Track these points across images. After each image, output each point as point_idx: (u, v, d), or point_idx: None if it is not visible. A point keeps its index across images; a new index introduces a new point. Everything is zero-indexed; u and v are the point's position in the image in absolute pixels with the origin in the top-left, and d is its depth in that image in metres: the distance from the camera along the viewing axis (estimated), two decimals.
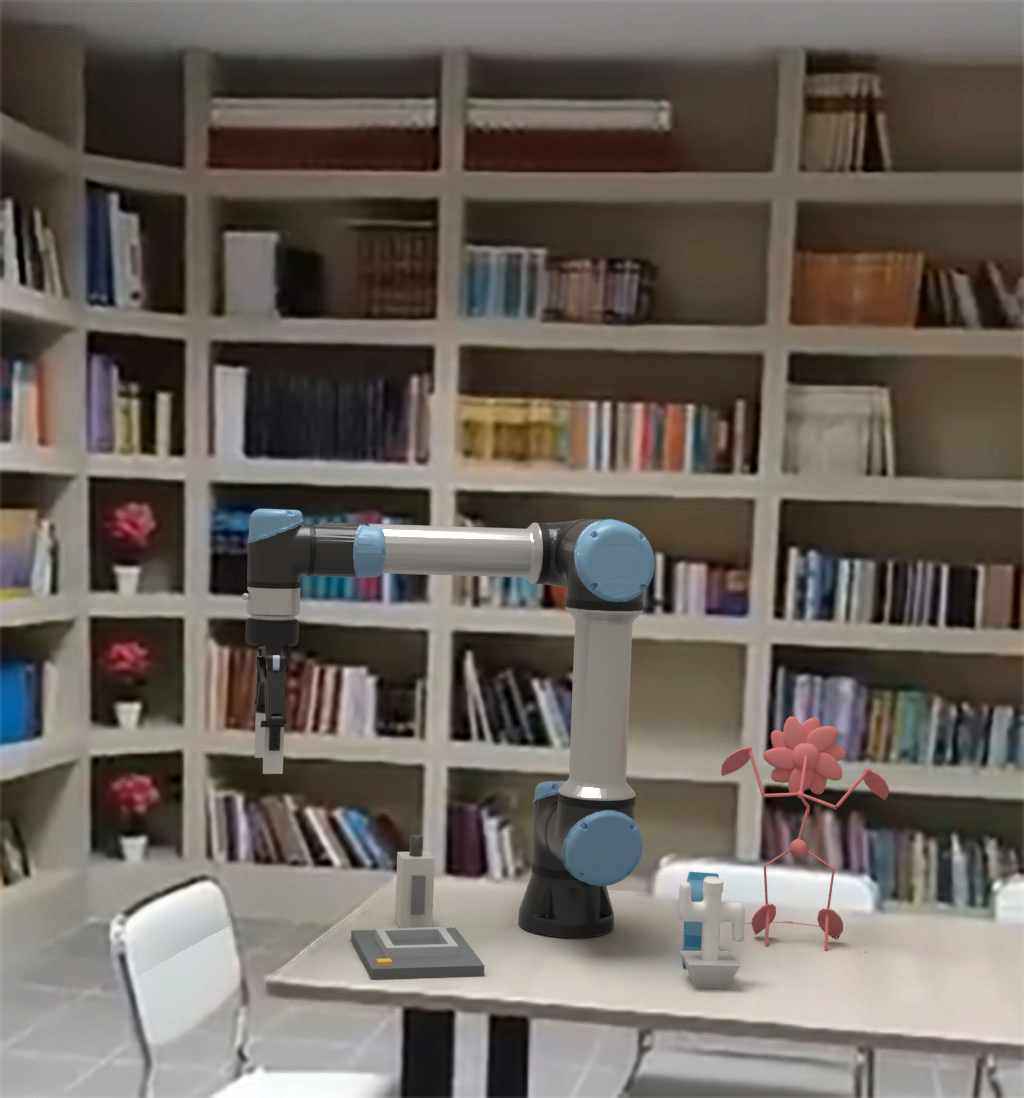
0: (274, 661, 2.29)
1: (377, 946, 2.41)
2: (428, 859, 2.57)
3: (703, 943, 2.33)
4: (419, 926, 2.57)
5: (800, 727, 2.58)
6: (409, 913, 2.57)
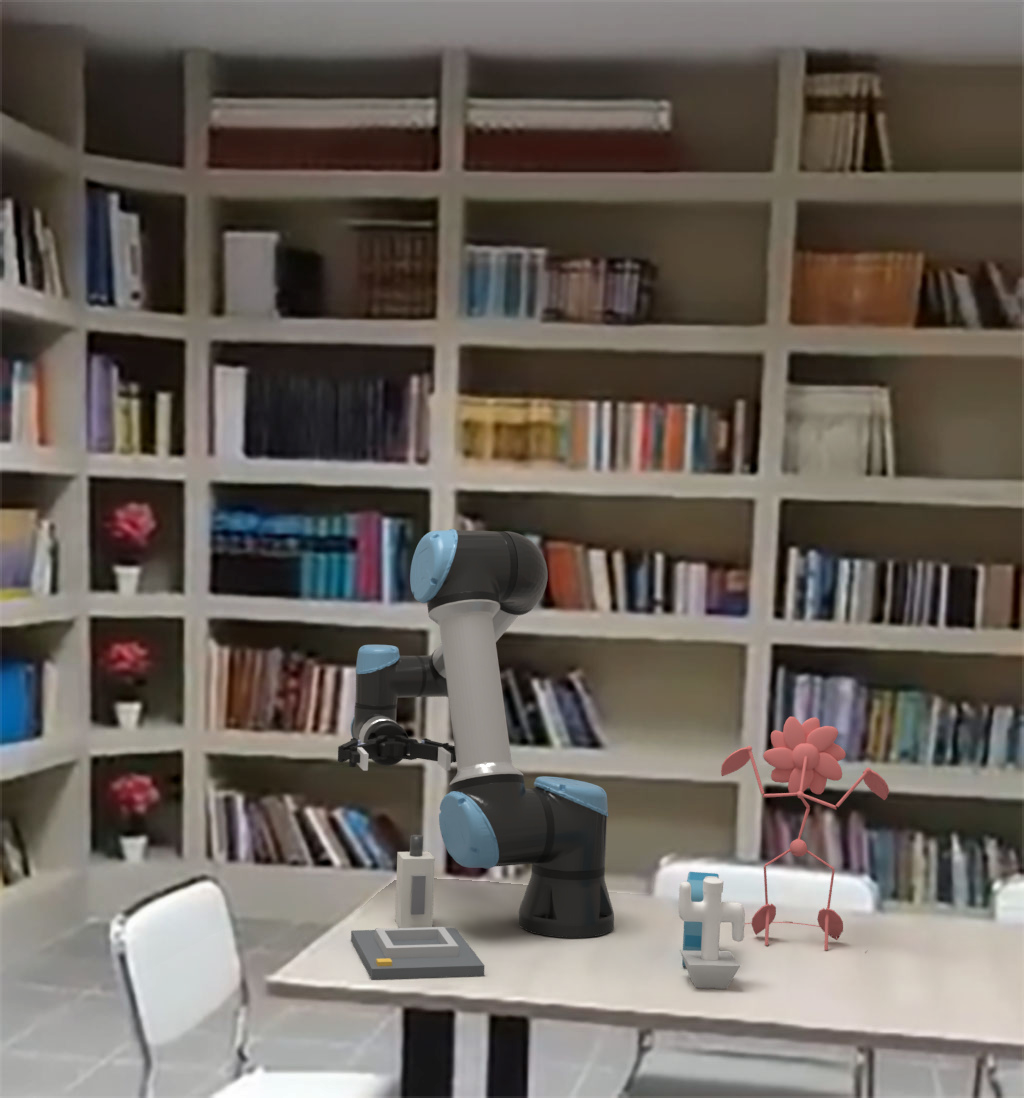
0: None
1: (377, 946, 2.41)
2: (428, 859, 2.57)
3: (703, 943, 2.33)
4: (419, 926, 2.57)
5: (800, 727, 2.58)
6: (409, 913, 2.57)
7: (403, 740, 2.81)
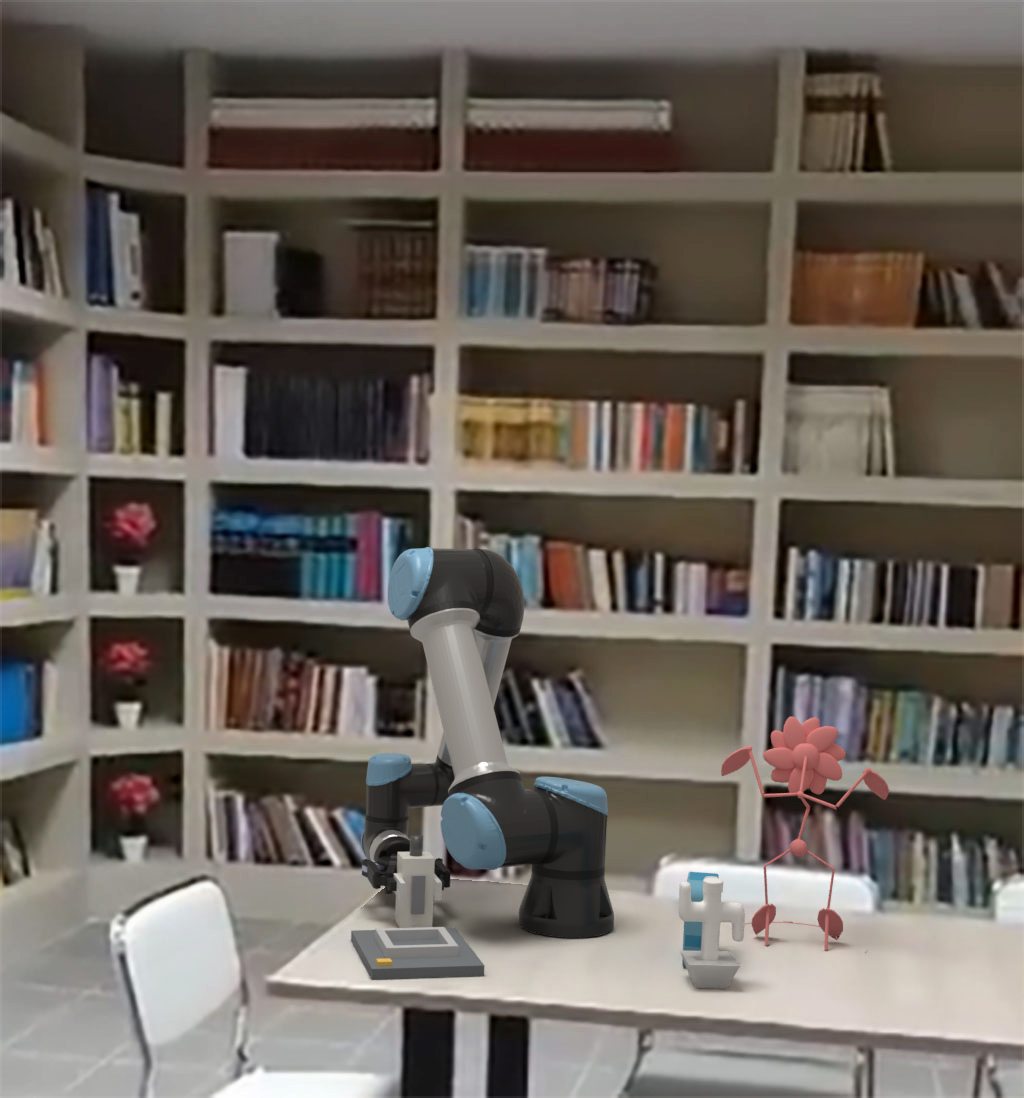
0: (363, 869, 2.68)
1: (377, 946, 2.41)
2: (428, 859, 2.57)
3: (703, 943, 2.33)
4: (419, 926, 2.57)
5: (800, 727, 2.58)
6: (409, 913, 2.57)
7: None
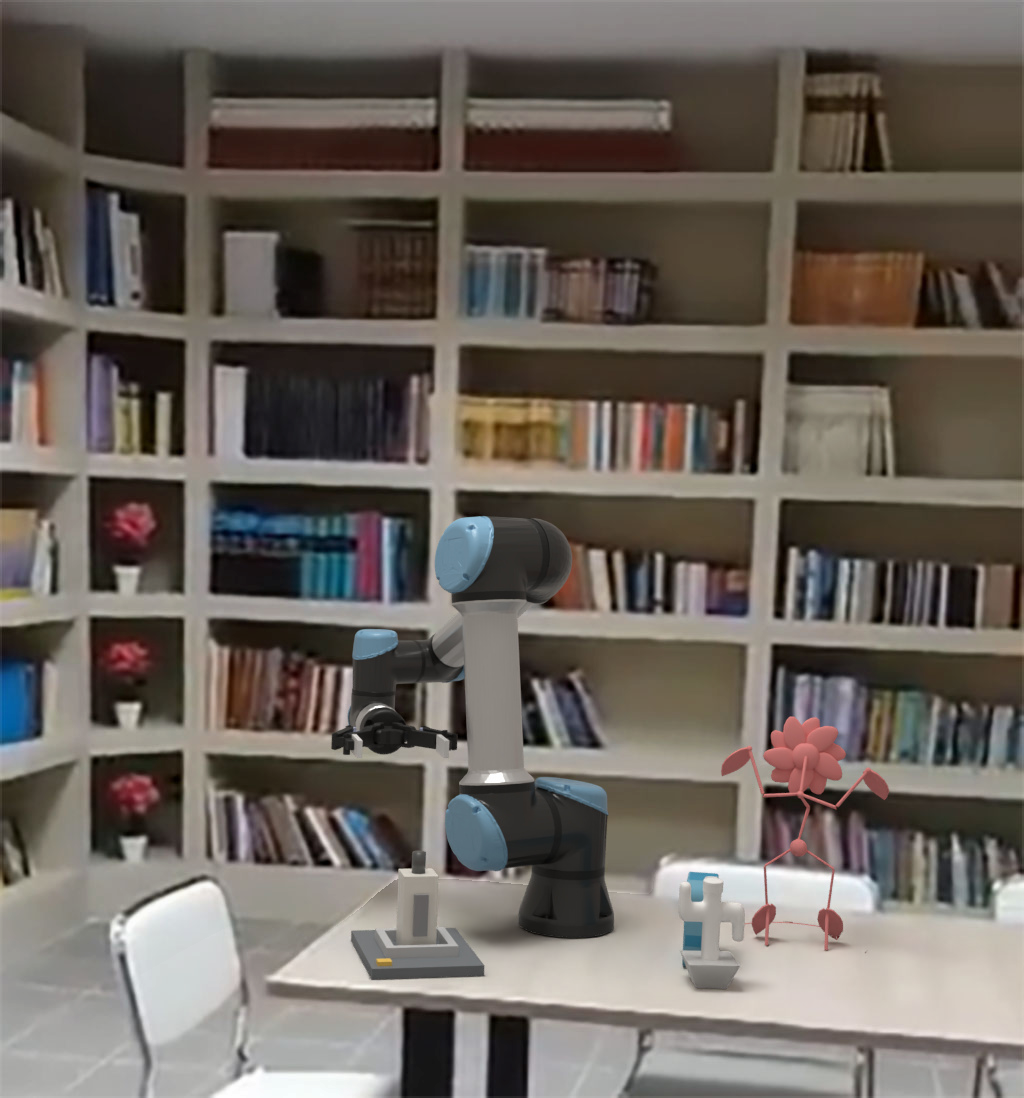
0: None
1: (377, 946, 2.41)
2: (431, 877, 2.39)
3: (703, 943, 2.33)
4: None
5: (800, 727, 2.58)
6: (411, 935, 2.38)
7: (400, 727, 2.69)
